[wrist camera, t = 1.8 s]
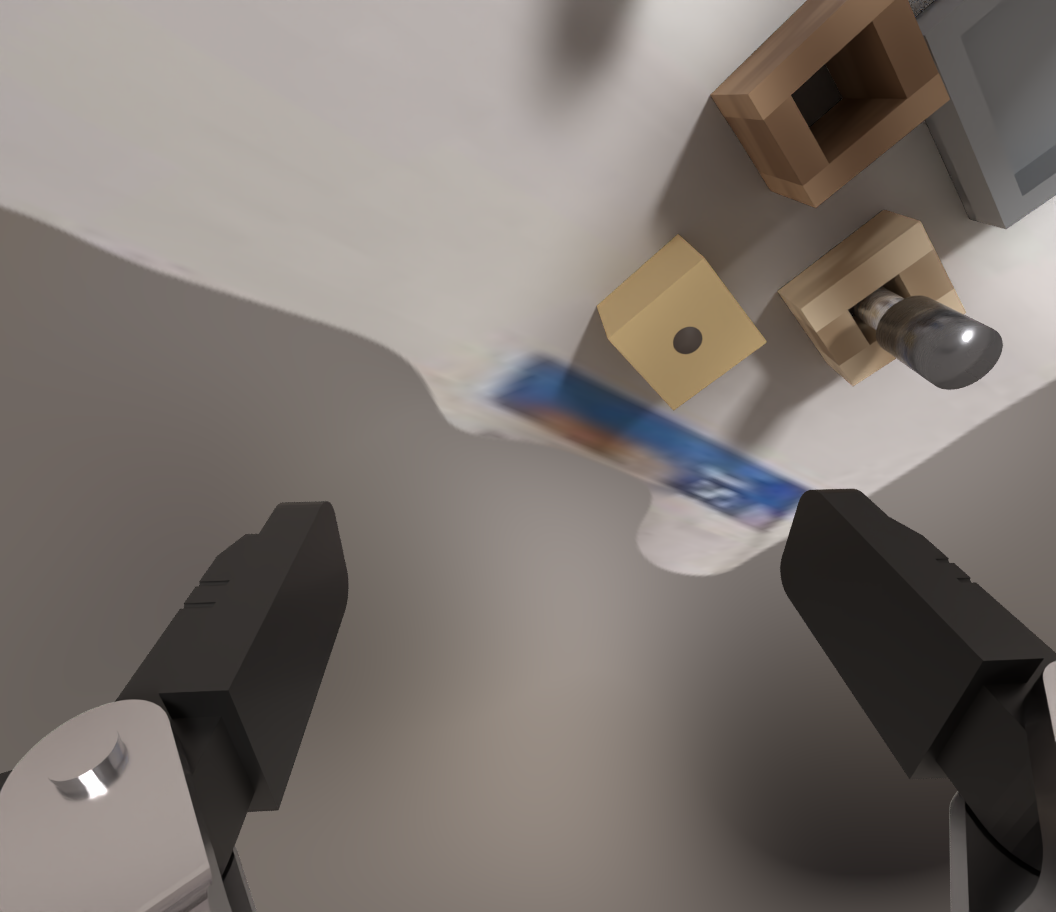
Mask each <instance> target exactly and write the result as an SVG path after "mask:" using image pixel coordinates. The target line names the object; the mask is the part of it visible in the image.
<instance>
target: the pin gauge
mask: <svg viewBox="0 0 1056 912" xmlns="http://www.w3.org/2000/svg"><path fill="white" fill-rule="evenodd" d="M848 311H849V313H851V314H852V315H854V316H855V317H857V318H858V319H860V320H861V321H863V322H864V323H866V324H867V325H869V326H870V327H872V328H873V329H875V330H876V340H877V342H878V344H879V346H880V347H881V348H882V349H884V350H885V351H887V352H888V353H889V354H891V355H892V356H894V357H895V358H897V359H898V360H899V361H901V362H902V363H904V364H905V365H907V366H908V367H909V368H911V369H912V370H914V371H915V372H917V373H918V374H919V375H921V376H922V377H924V378H925V379H927V380H928V381H929V382H931V383H932V384H934V385H935V386H937V387H939V388H942V389H948V390H951V389H959V388H963V387H966V386H968V385H970V384H973V383H974V382H976V381H978V380H979V379H981V378H982V377H983V376H985V375H986V374H987V373H988V372H989V371H990V370H991V369H992V368H993V367H994V365H995V364H996V362H997V361H998V359H999V357H1000V355H1001V352H1002V346H1003V343H1002V338H1001V336H1000V334H999V333H998V332H997V331H995V330H994V329H992V328H990V327H988V326H986V325H984V324H982V323H980V322H978V321H976V320H974V319H972V318H970V317H968V316H966V315H964V314H962V313H960V312H958V311H956V310H954V309H952V308H950V307H948V306H946V305H944V304H941V303H939V302H937V301H935V300H933V299H931V298H929V297H927V296H920V295H919V296H911V297H907V298H905V299H904V298H902V297H901V296H899V295H897V294H895V293H893V292H891V291H889V290H887V289H885V288H884V287H882V286H881V287H880V288H878V289H877V290H875V291H874V292H873V293H871V294H870V295H868V296H867V297H866V298H864V299H863V300H861V301H860V302H858V303H857V304H856V305H854V306H853V307H851V308H850V309H849V310H848Z"/></svg>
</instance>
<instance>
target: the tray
mask: <svg viewBox="0 0 1056 912" xmlns="http://www.w3.org/2000/svg"><path fill="white" fill-rule="evenodd" d="M916 21H917V23H918V25H919V28H920V30H921V32H922V35H923V37H924V40H925V42H926V44H927V47H928V49H929V51H930V54H931V56H932V59H933V61H934V63H935V66H936V68H937V70H938V73H939V74H940V77H941V79H942V81H943V84H944V86H945V88H946V91H947V93H948V96H949V98H950V100H949V101H948V102H946V103H945V104H944V105H943V106H941V107H940V108H939V109H938V110H937V111H935V112H934V113H933V114H932V115H930V116H929V117H928V118H927V119H925V121H926V123H927V126H928V128H929V130H930V132H931V134H932V137H933V139H934V141H935V143H936V146H937V148H938V150H939V152H940V154H941V157H942V159H943V161H944V163H945V166H946V168H947V170H948V172H949V174H950V177H951V179H952V181H953V183H954V186H955V188H956V190H957V192H958V194H959V197H960V199H961V201H962V203H963V206H964V208H965V210H966V212H967V214H968V217H969V219H971V220H974V221H978V222H982V223H985V224H989V225H993V226H996V227H1000V228H1004V229H1007V228H1009V227H1010V226H1012V225H1013V224H1014V223H1016V222H1017V221H1019V220H1020V219H1022V218H1023V217H1025V216H1026V215H1027V214H1029V213H1030V212H1032V211H1033V210H1035V209H1036V208H1038V207H1039V206H1041V205H1042V204H1043V203H1045V202H1046V201H1048V200H1049V199H1051V198H1052V197H1054V196H1055V195H1056V0H935V1H934V2H933V3H931V4H930V5H929V6H928V7H927V8H926V9H925V10H924V11H922V12H921V13H920V14H919V15H918V16H917V17H916Z"/></svg>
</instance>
